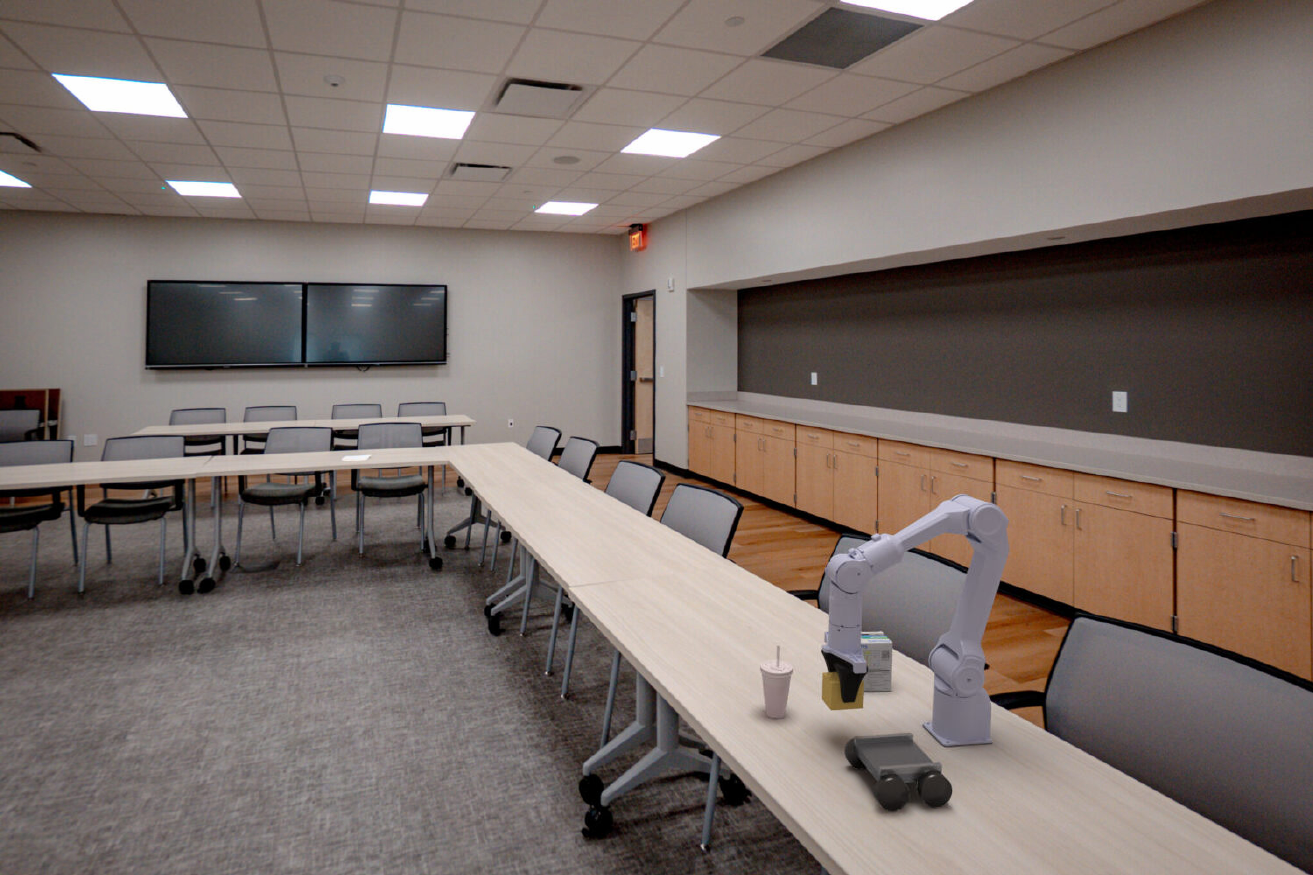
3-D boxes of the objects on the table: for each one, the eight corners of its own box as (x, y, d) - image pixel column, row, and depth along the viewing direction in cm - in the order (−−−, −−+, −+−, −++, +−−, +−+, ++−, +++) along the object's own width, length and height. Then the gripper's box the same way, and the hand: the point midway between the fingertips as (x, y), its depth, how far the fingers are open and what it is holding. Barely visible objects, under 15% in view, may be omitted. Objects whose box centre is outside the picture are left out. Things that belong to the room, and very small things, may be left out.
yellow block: (853, 696, 134) (853, 670, 133) (863, 708, 129) (864, 681, 129) (821, 698, 133) (822, 672, 133) (830, 710, 129) (831, 683, 128)
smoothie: (767, 723, 138) (768, 652, 136) (753, 708, 144) (755, 639, 142) (798, 719, 139) (799, 649, 138) (783, 704, 146) (785, 636, 144)
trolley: (910, 760, 125) (911, 727, 124) (951, 806, 112) (953, 769, 111) (843, 765, 123) (844, 732, 123) (877, 812, 110) (879, 775, 110)
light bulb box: (881, 678, 158) (883, 630, 157) (892, 692, 151) (894, 642, 150) (832, 678, 158) (833, 630, 157) (841, 692, 151) (842, 642, 150)
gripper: (809, 609, 136) (807, 679, 138) (839, 638, 122) (837, 715, 123) (845, 607, 137) (843, 677, 139) (879, 636, 123) (876, 713, 124)
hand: (843, 695), depth 131 cm, fingers closed on yellow block, 4 cm apart
